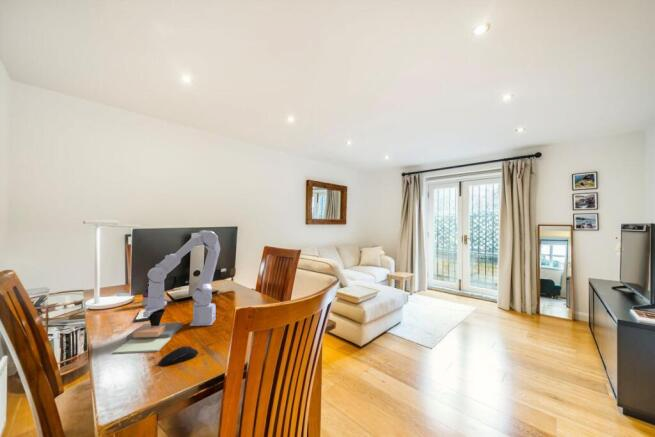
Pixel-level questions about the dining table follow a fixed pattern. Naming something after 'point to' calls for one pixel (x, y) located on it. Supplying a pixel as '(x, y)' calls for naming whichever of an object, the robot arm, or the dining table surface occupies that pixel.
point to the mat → (142, 345)
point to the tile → (149, 331)
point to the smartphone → (141, 317)
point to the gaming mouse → (178, 356)
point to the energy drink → (145, 298)
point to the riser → (169, 332)
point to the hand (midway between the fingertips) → (155, 327)
